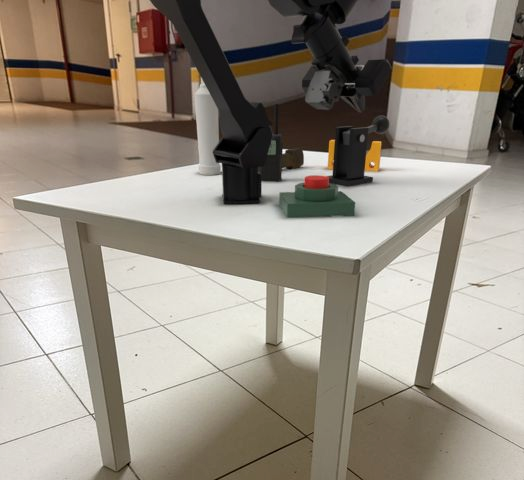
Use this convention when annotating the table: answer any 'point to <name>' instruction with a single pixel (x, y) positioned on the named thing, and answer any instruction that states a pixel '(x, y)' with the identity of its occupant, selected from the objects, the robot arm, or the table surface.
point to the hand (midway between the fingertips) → (362, 110)
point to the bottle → (206, 130)
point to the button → (316, 182)
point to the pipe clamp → (370, 156)
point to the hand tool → (292, 158)
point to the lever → (371, 128)
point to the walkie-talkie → (273, 155)
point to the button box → (316, 202)
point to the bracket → (350, 157)
